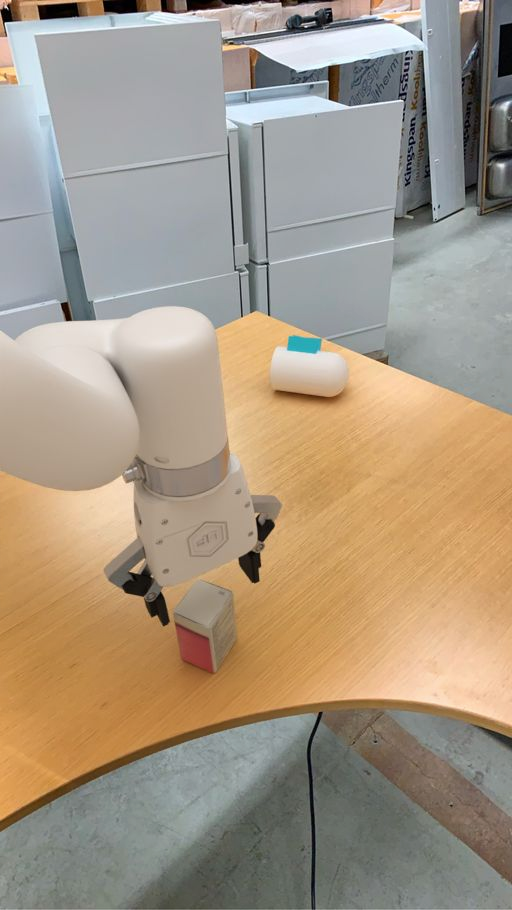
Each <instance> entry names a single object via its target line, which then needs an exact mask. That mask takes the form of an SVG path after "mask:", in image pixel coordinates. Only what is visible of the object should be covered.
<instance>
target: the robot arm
mask: <svg viewBox="0 0 512 910" xmlns="http://www.w3.org/2000/svg"><path fill="white" fill-rule="evenodd" d="M225 404H226V403H225V395H224V387H223V377H222V368H221V357H220V348H219V341H218V334H217V331H216V328H215V326H214V325H213V323H212V321H211V320H210V319H209V318H208V317H207V316H206V315H204V313H202V312H200V311H198V310H195V309H193V308H190V307H186V306H178V305H165V306H157V307H152V308H148V309H144V310H141V311H139V312H136V313H134V314H132V315H131V316H129V317H123V318H114V319H113V318H111V319H95V320H93V319H92V320H68V321H58V322H57V321H56V322H49V323H45V324H40V325H37V326H34V327H32V328H29V329H28V330H26V331H24V332H22V333H21V334H19V335H18V336H17V337H16V338H15V339H13V338H11V337H10V336H9V335H8V334H6V333H5V332H4V331H2V330H1V329H0V472H2V473H5V474H7V475H10V476H12V477H14V478H18V479H20V480H23V481H26V482H27V483H30V484H34V485H37V486H40V487H44V488H47V489H53V490H56V491H64V492H83V491H84V492H85V491H92V490H96V489H100V488H103V487H104V486H107V485H109V484H111V483H112V482H114V481H115V480H117V479H119V478H120V477H122V480H123V481H124V483H125V484H126V485H127V484H129V483H132V482H133V516H134V526H135V533H136V539H135V540H133V542H131V543H130V544H129V545H128V546H126V547H125V548H124V549H123V550H122V551H121V552H120V553H119V554H118V555H116V556H115V557H114V558H113V559H112V560H110V562H109V563H108V564H106V565H105V566H104V567H103V572H104V575H105V577H106V578H107V581H108V582H109V583H111V584H112V585H114V586H115V587H117V588H118V589H121V590H123V592H124V593H125V594H127V595H132V596H137V597H142V598H143V601H144V605H145V607H146V610H147V612H148V614H149V616H150V618H155V617H156V616H157V618H158V620H159V622H160V624H161V625H162V627H163V628H164V627H166V626H168V625H169V624H170V623H171V619H170V616H169V612H168V606H167V602H166V598H165V596H164V593H163V592H162V590H163V588H168V587H170V588H171V587H175V586H178V585H180V584H184V583H186V582H188V581H190V580H192V579H195V578H197V577H200V576H201V575H204V574H206V573H208V572H211V571H213V570H215V569H217V568H219V567H221V566H224V565H226V564H229V563H230V562H232V561H235V560H237V559H238V565H239V568H240V569H241V571H243V573H244V574H245V575H246V577H247V578H248V580H249V581H250V583H251V584H254V585H255V584H257V583H259V582H260V581H261V580H260V579H261V578H260V568H262V559H261V557H262V556H261V552H263V551H264V549H266V543H264V542H265V541H266V540H267V538H268V537H269V536H270V534H272V532H273V531H274V529H275V527H276V523H275V521H276V520H277V519H278V517H279V514H280V512H281V510H282V507H283V503H282V502H281V501H280V500H279V499H278V498H277V497H276V495H274V494H273V495H272V494H271V495H270V494H268V495H267V494H266V495H265V494H251V492H250V491H251V490H250V488H249V485H248V480H247V476H246V474H245V471H244V468H243V465H242V462H241V460H240V459H239V458H238V456H237V455H236V454H234V453H233V452H232V451H231V450H230V443H229V442H230V441H229V434H228V422H227V415H226V406H225ZM255 514H258V515H255ZM144 559H145V560H144ZM143 560H144V561H143ZM142 561H143V562H142ZM141 562H142V564H141V566H140V567H139V569H138V570H137V572H132V570H133V569H134V568H135V567H136V566H138V564H140V563H141Z"/></svg>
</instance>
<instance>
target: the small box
mask: <svg viewBox="0 0 512 910" xmlns="http://www.w3.org/2000/svg"><path fill="white" fill-rule="evenodd" d="M172 616H173V622H174V626H175V633H176V638H177V643H178V649H179V654H180V659H181V660H183V661H184V662H187V663H189V664H190V665H193V666H195V667H198V668H199V669H202V670H205V671H207V672H209V673H212V674H216V673H217V671H218V670H219V668H220V667H221V666H222V664H223V662H224V661H225V660H226V658H227V656H228V654H229V652H230V651H231V649H232V648H233V646H234V644H235V643H236V641H237V639H238V632H237V621H236V610H235V599H234V591H233V590H230V589H227V588H224V587H222V586H220V585H218V584H215V583H212V582H209V581H206V580H203V579H201V578H197V579H196V580H195V581H194V582H193V584H192V585H191V586H190V588H188V590H187V591H186V593H185V594H184V596H183V597H182V599H181V600H180V601H179V603H178V604H177V606H176V607H175V608H174V610H173V611H172Z"/></svg>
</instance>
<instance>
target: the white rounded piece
mask: <svg viewBox="0 0 512 910" xmlns="http://www.w3.org/2000/svg"><path fill="white" fill-rule="evenodd" d="M322 341H323V338H321V337H307V336H300V335H296V334H292V335H288V339H287V346H283V345H282V346H281V345H278V346H276V348H275V350H274V351H273V354H272V358H271V362H270V370H269V383H270V387H271V390H275V391H282V392H288V393H289V392H290V393H295V394H296V393H297V394H304V395H310V396H318V397H324V398H332V397H335V396H338V395H339V394H341V393H342V392H343V391H344V389H345V388H346V386H347V384H348V381H349V379H350V378H349V376H350V369H349V365H348V362H347V361H346V358H344V357H343V356H342V355H341V354H339V353H337V352H334V351H333V352H332V351H324V350H322V349H321V348H322Z"/></svg>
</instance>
